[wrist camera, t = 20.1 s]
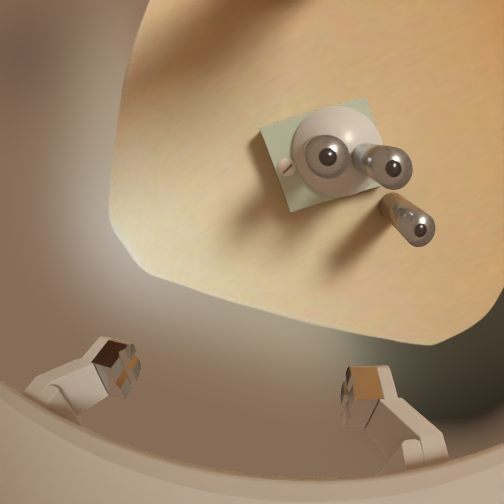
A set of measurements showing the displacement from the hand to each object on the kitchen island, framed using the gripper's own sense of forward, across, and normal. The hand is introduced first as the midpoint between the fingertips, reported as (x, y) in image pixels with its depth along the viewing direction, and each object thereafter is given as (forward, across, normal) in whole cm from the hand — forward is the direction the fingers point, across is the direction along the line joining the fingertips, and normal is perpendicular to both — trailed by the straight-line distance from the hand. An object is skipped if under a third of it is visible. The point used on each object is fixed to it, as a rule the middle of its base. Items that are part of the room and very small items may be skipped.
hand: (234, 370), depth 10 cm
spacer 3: (+37, -18, +2) cm, 41 cm away
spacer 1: (+34, -5, -6) cm, 34 cm away
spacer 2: (+34, -12, -5) cm, 36 cm away
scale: (+37, -6, -6) cm, 38 cm away
